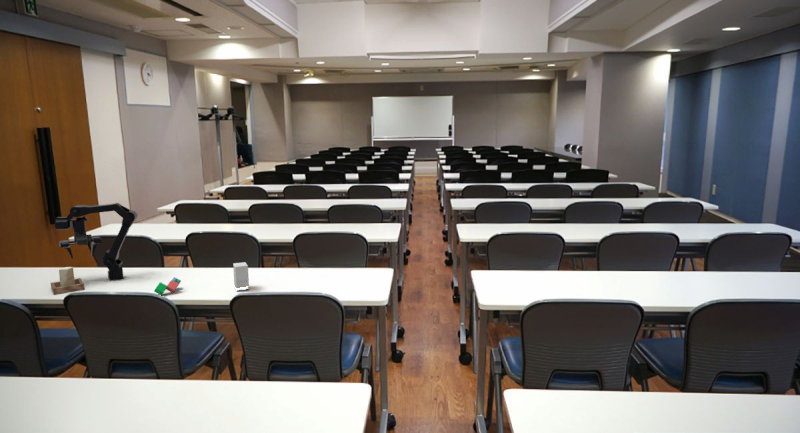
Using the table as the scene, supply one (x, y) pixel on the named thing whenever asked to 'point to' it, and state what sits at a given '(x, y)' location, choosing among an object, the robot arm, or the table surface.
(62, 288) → the brown square frame
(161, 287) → the building blocks
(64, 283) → the box
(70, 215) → the robot arm
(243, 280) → the small box
